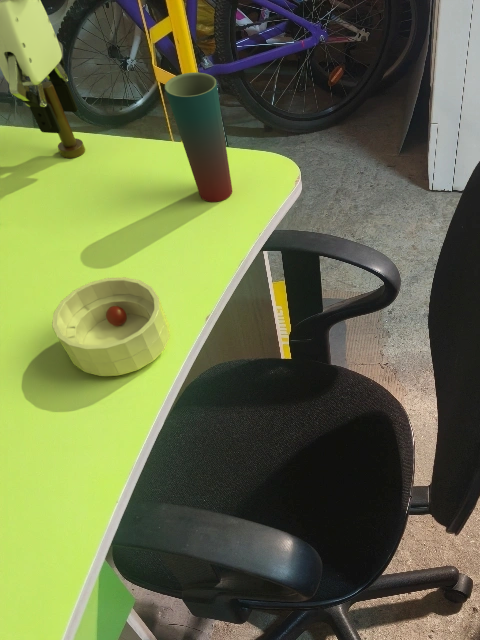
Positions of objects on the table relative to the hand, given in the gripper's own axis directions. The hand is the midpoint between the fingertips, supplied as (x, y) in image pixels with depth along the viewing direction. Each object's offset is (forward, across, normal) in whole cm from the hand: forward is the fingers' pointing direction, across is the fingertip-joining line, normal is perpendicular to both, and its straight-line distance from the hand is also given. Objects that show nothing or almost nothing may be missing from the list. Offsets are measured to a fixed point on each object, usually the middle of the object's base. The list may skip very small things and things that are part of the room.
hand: (59, 120), depth 93 cm
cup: (+5, +9, +27) cm, 29 cm away
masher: (+5, 0, 0) cm, 5 cm away
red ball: (+3, +39, +23) cm, 46 cm away
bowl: (+5, +42, +24) cm, 49 cm away
